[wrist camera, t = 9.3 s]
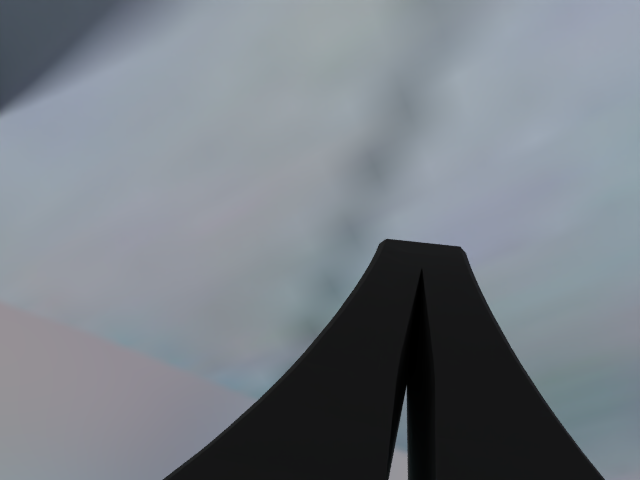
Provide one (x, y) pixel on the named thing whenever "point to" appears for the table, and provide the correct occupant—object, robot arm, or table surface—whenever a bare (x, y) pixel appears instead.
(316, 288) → the table surface
